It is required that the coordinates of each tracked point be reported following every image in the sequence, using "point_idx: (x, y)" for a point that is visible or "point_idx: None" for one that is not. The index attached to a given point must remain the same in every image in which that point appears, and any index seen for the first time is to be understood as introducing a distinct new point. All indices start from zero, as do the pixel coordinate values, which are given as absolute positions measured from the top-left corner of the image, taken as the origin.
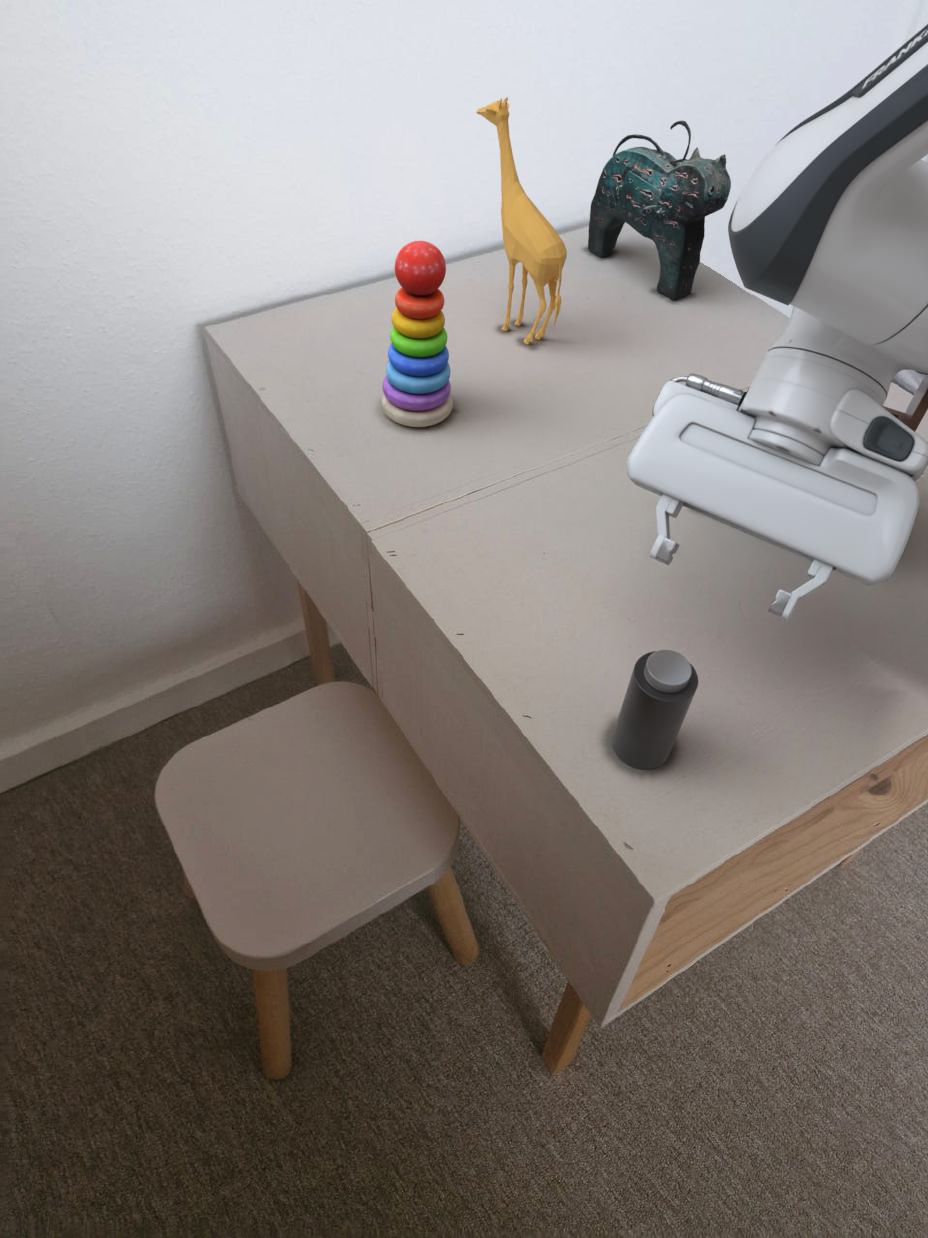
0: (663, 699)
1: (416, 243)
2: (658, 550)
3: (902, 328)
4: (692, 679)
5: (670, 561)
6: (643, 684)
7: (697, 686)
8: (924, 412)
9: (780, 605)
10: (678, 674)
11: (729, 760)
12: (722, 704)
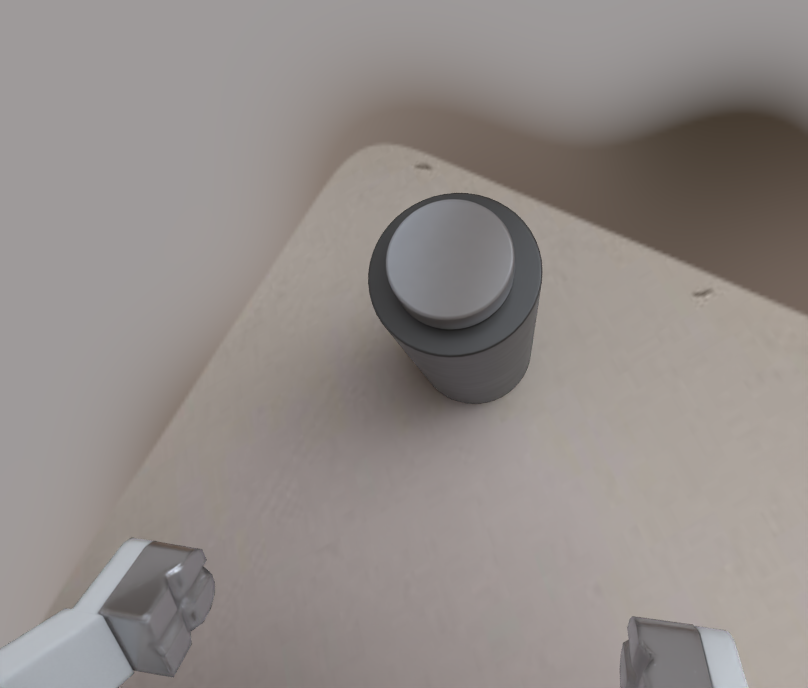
0: (432, 198)
1: None
2: (704, 657)
3: None
4: (386, 295)
5: (622, 669)
6: (494, 211)
7: (368, 284)
8: None
9: (151, 564)
10: (416, 246)
11: (319, 401)
12: (362, 525)
